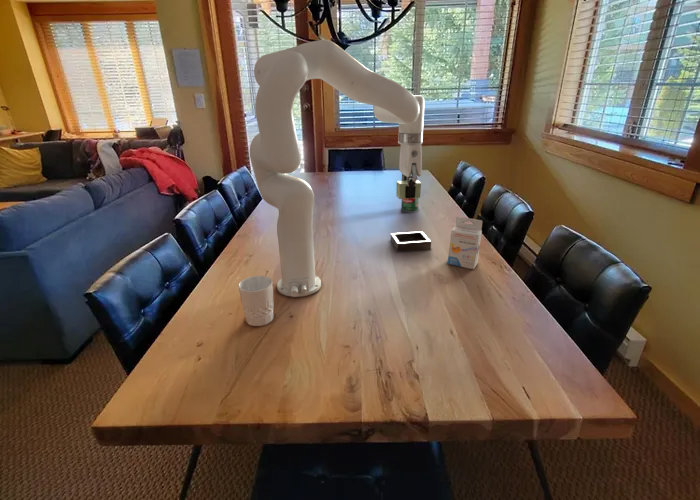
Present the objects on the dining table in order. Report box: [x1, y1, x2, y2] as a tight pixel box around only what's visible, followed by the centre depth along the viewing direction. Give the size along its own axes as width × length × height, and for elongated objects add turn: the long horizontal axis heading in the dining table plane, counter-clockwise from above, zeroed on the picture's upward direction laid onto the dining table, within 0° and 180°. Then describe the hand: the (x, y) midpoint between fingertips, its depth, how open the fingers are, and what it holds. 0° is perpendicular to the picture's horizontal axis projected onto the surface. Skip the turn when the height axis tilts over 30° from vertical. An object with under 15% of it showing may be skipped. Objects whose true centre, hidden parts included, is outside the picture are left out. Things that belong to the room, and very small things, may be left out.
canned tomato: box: [400, 198, 420, 213], centre depth 171 cm, size 8×8×11 cm
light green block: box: [395, 179, 422, 200], centre depth 122 cm, size 4×7×5 cm, turn 98°
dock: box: [390, 230, 432, 253], centre depth 134 cm, size 10×12×3 cm
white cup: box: [238, 275, 275, 327], centre depth 91 cm, size 8×8×10 cm
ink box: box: [447, 216, 483, 270], centre depth 117 cm, size 8×5×15 cm, turn 60°
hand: (408, 195), depth 123 cm, fingers closed on light green block, 4 cm apart
